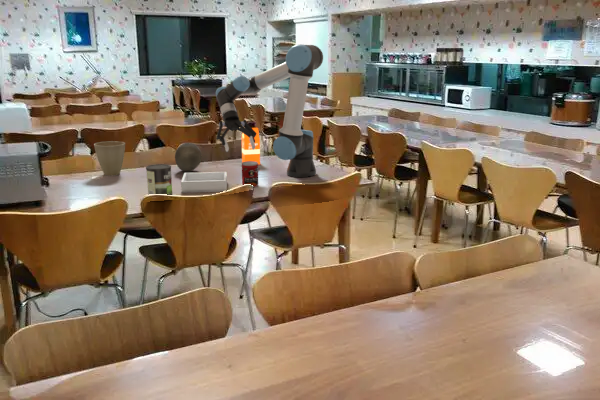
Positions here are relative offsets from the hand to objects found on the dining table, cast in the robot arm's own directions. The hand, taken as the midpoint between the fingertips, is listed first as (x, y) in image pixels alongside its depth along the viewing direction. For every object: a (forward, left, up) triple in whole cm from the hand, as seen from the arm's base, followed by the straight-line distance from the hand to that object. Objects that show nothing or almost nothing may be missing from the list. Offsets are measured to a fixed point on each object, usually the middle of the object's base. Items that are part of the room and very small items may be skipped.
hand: (241, 149), depth 257 cm
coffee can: (+35, +29, -16) cm, 48 cm away
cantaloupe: (+27, -23, -16) cm, 39 cm away
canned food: (-4, +10, -16) cm, 19 cm away
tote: (+17, +11, -16) cm, 26 cm away
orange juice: (-6, -41, -16) cm, 44 cm away
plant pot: (+66, -20, -16) cm, 70 cm away
